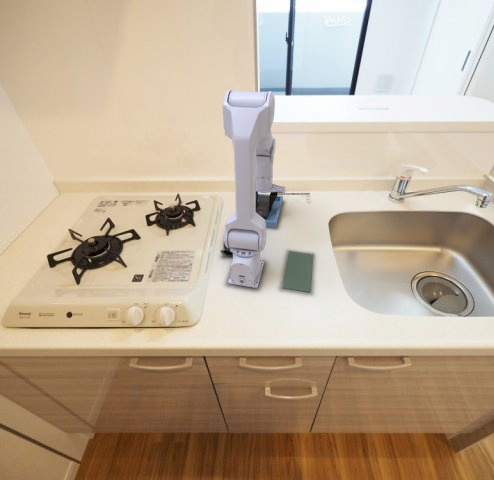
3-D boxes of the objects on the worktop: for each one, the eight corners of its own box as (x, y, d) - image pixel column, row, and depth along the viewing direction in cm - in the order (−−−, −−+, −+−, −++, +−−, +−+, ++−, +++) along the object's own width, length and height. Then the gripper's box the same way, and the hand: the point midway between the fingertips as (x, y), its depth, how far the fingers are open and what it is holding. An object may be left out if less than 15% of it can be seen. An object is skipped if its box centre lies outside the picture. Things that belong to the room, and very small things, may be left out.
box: (275, 228, 87) (276, 222, 85) (242, 224, 89) (241, 218, 87) (282, 201, 99) (282, 196, 97) (252, 198, 101) (252, 192, 99)
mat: (309, 292, 67) (310, 291, 66) (282, 288, 68) (282, 287, 67) (312, 255, 77) (312, 254, 77) (289, 251, 78) (289, 250, 78)
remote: (266, 222, 88) (266, 216, 86) (253, 221, 89) (253, 214, 87) (272, 202, 98) (272, 195, 96) (260, 200, 99) (260, 194, 97)
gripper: (287, 170, 86) (285, 205, 95) (245, 166, 88) (246, 200, 97) (284, 180, 80) (282, 216, 89) (239, 176, 83) (241, 211, 92)
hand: (263, 209), depth 93 cm, fingers closed on remote, 4 cm apart
